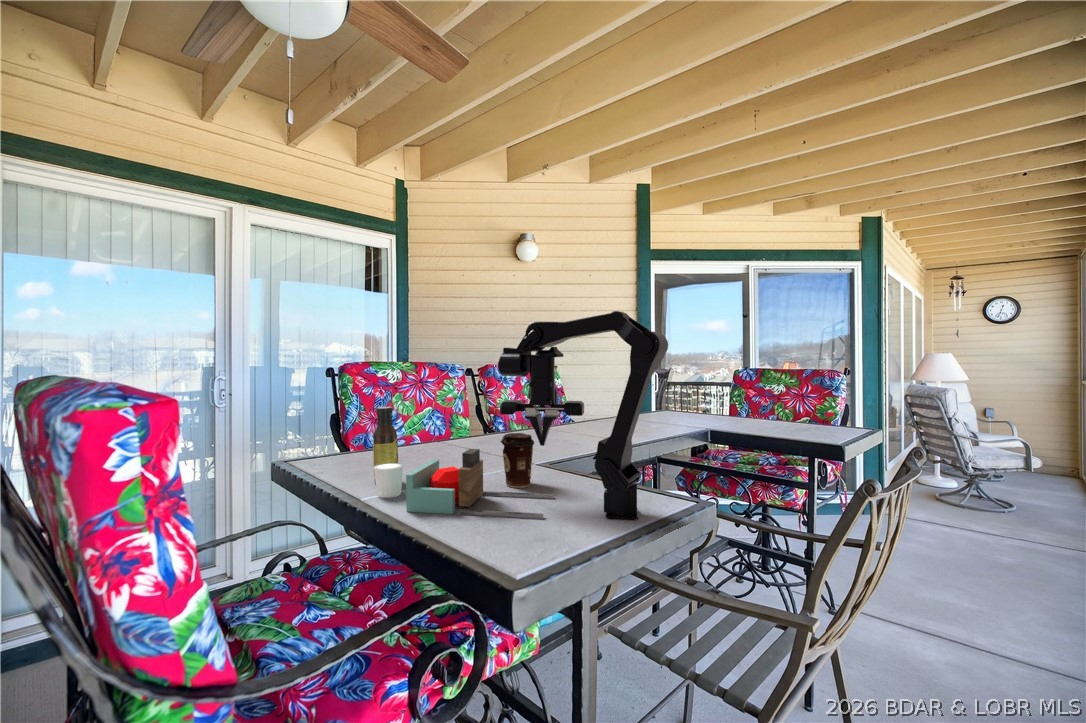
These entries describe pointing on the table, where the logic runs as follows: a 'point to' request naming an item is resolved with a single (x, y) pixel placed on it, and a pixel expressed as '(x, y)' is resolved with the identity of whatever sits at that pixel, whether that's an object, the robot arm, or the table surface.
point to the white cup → (388, 479)
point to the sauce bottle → (385, 438)
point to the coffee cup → (517, 459)
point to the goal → (427, 492)
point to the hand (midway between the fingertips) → (542, 445)
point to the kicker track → (508, 514)
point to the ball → (446, 480)
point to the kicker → (470, 477)
